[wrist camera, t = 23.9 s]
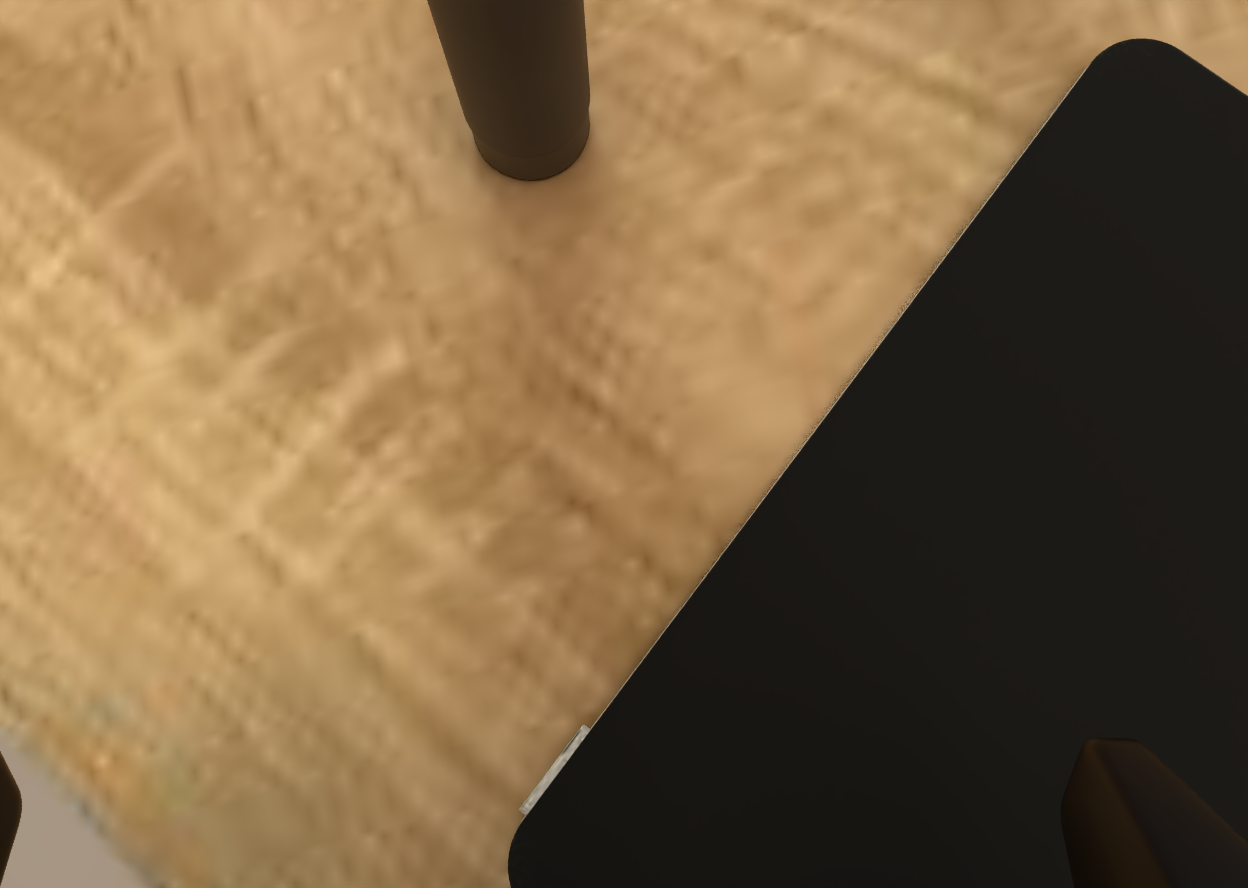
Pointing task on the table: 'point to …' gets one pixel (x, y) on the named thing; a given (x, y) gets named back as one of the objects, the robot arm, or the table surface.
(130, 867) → the table surface
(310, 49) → the table surface
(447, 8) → the teal capped marker
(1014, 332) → the tablet
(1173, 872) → the robot arm
